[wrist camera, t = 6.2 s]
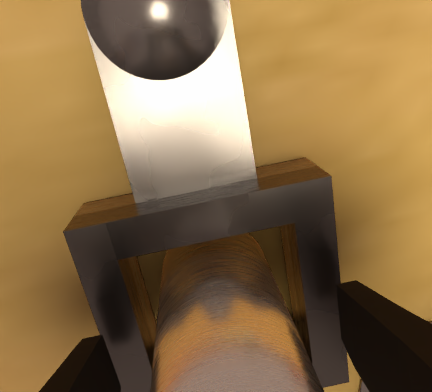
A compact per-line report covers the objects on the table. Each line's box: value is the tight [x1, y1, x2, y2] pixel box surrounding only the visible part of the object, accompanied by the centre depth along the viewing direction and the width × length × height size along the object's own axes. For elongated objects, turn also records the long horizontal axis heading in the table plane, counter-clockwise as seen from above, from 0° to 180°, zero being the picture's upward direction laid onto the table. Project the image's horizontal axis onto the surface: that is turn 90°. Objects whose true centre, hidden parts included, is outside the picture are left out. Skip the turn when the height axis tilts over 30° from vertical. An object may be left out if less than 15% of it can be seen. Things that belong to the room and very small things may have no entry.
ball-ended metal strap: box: [63, 0, 349, 392], centre depth 13 cm, size 23×8×2 cm, turn 11°
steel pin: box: [150, 233, 324, 392], centre depth 10 cm, size 4×4×9 cm
